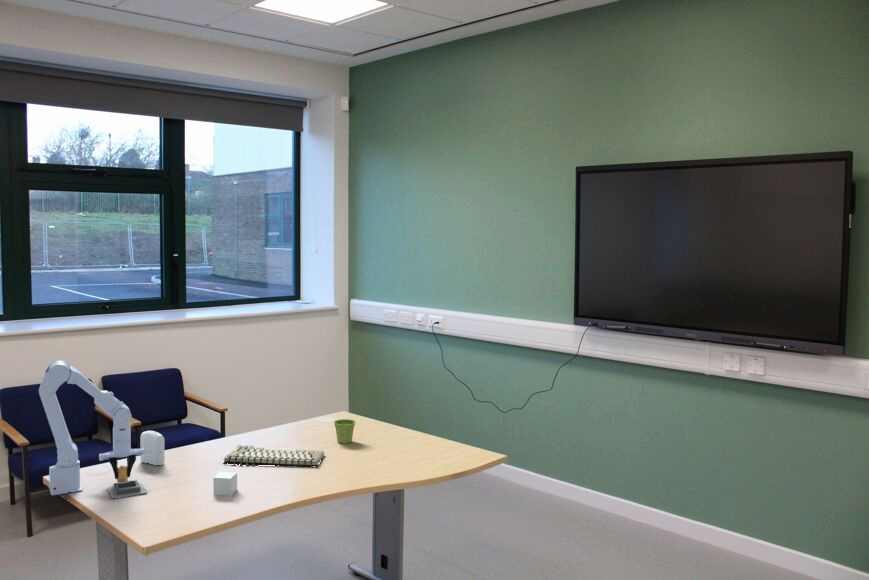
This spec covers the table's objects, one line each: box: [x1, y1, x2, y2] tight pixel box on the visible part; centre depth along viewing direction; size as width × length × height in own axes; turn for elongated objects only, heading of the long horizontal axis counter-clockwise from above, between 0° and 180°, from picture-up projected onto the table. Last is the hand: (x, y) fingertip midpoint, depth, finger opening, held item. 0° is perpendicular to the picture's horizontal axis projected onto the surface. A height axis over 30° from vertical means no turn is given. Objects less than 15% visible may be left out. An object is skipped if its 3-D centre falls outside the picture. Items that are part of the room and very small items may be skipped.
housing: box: [106, 479, 148, 500], centre depth 247 cm, size 11×11×2 cm
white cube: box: [212, 471, 238, 496], centre depth 248 cm, size 6×6×6 cm
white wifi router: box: [139, 430, 165, 467], centre depth 276 cm, size 10×4×12 cm, turn 60°
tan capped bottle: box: [116, 464, 129, 483], centre depth 255 cm, size 3×3×6 cm
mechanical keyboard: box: [222, 444, 325, 468], centre depth 285 cm, size 38×19×3 cm, turn 88°
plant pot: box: [333, 418, 357, 445], centre depth 309 cm, size 9×9×9 cm
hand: (122, 477), depth 256 cm, fingers closed on tan capped bottle, 3 cm apart
